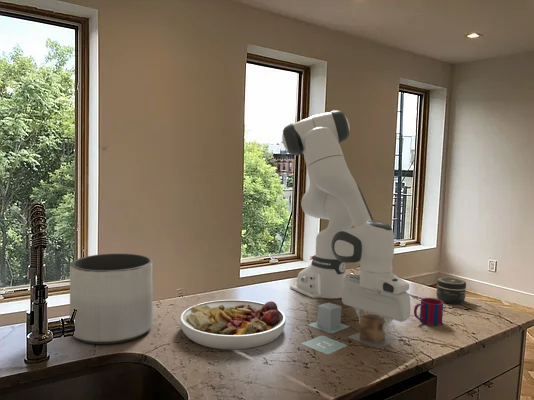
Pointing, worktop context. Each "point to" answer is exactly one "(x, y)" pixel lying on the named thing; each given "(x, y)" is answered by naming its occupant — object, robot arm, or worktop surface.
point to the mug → (430, 311)
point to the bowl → (233, 323)
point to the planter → (111, 297)
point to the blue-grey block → (329, 316)
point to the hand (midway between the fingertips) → (373, 327)
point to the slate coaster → (376, 345)
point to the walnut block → (371, 327)
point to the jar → (451, 290)
